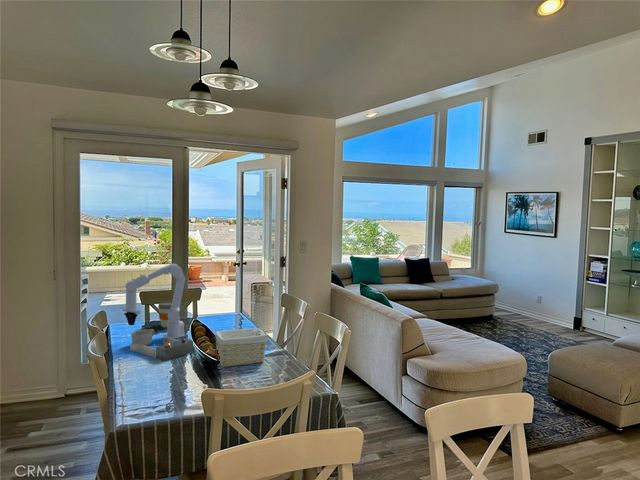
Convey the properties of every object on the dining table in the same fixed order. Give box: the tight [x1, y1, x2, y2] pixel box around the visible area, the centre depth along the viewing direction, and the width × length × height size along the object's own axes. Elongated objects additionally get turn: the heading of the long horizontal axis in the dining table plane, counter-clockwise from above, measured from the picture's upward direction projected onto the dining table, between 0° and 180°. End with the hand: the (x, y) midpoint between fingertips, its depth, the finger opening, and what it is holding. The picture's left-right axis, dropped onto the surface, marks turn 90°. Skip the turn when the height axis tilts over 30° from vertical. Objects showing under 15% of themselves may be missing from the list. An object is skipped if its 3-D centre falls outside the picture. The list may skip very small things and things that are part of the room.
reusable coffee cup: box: [157, 300, 173, 328], centre depth 282 cm, size 13×12×15 cm
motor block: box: [129, 334, 194, 362], centre depth 231 cm, size 22×28×7 cm
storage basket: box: [214, 328, 268, 368], centre depth 218 cm, size 24×16×15 cm
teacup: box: [131, 328, 156, 346], centre depth 241 cm, size 14×11×8 cm
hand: (131, 324), depth 247 cm, fingers closed
